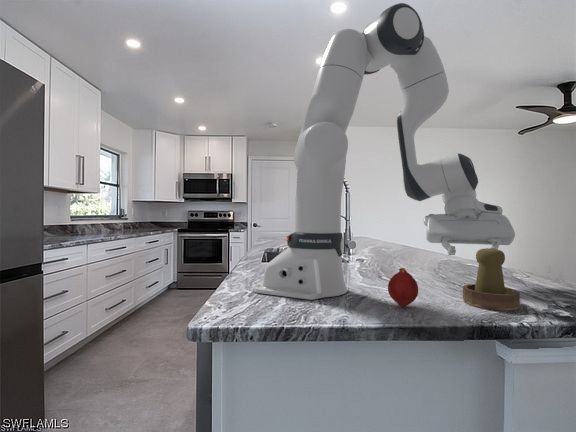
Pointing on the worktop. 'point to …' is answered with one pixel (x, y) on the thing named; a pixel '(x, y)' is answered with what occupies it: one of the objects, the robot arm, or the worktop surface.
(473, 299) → the spice holder
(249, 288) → the worktop surface
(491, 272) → the cork
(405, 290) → the onion
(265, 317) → the worktop surface
